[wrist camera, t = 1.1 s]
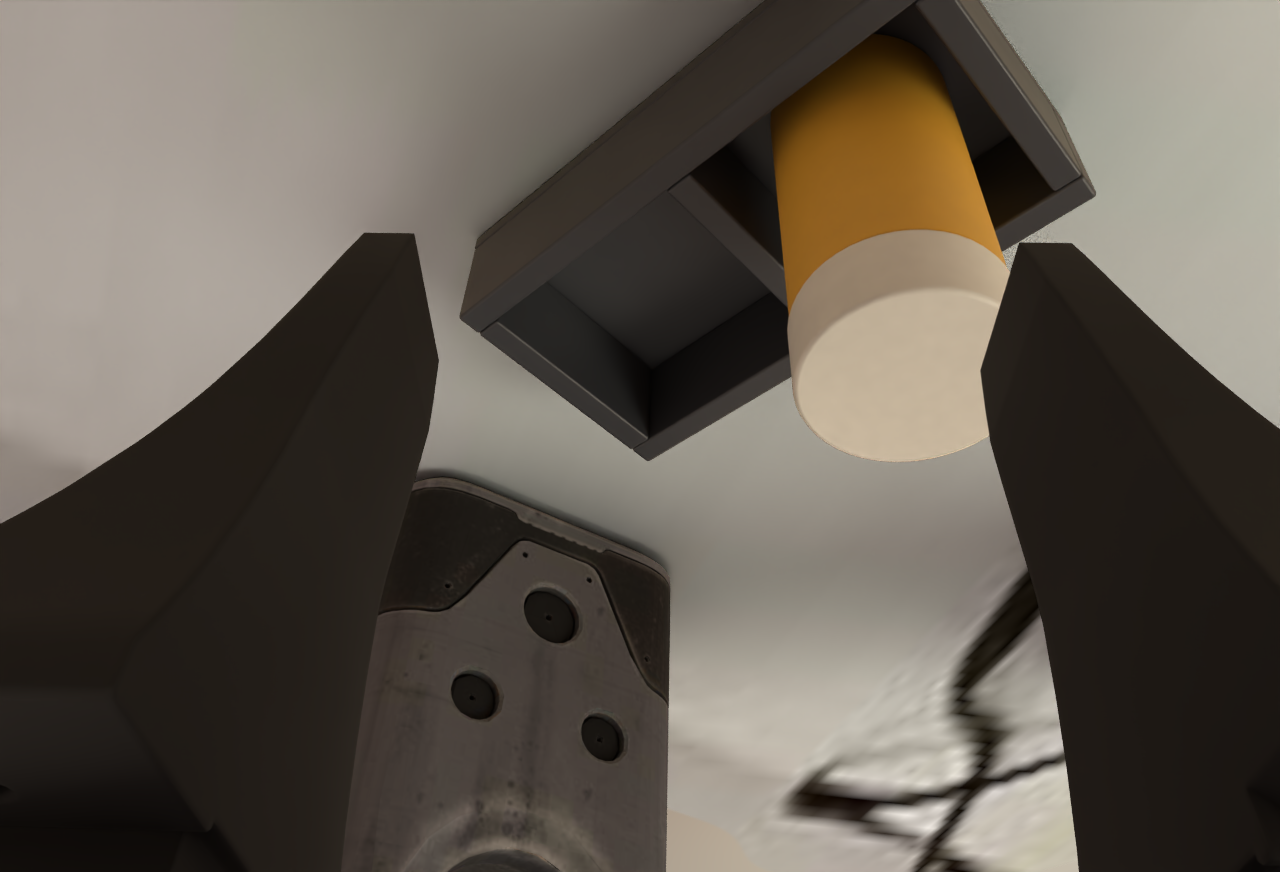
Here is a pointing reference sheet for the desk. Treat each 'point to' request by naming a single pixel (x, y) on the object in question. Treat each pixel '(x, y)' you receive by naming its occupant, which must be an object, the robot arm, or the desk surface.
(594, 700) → the electronic device
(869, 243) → the pill bottle
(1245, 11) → the desk surface
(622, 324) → the organizer
